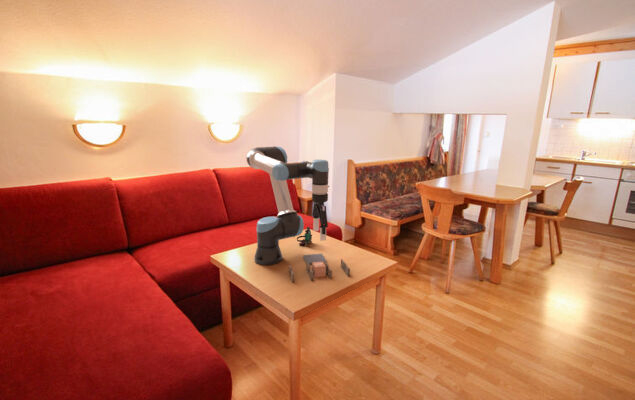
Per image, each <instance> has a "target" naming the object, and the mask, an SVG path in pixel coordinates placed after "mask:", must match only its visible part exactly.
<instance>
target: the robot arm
mask: <svg viewBox="0 0 635 400" xmlns="http://www.w3.org/2000/svg"><path fill="white" fill-rule="evenodd" d="M246 163H247V164H248V166H250V168H252V169H255V170H262V171H264V172H266V173H268V174H269V177H270V183H271V186H272V190H273V194H274V195H273V196H274V199H275V203H276V208H277V212H278V213H277V216H274V215H273V216H266V217H262V218H260V219H259V220H258V221H257V223H256V240H257V241H256V243H257V246H256V249H255V254H254V262H255V263H256V264H259V265H263V266H271V265H277V264H279V263H280V262H282V261H283V254H282V251H281V247H280V243H279V241H280V240H285V239H289V238H295V237H299V236H301V234H302V233H303V231H304V226H305V224H304V223H305V221H304V219H303V217H302V216H301V215H299V214H298V212H297V210H294V207H293V201H292V198H291V193H290V190H289V187H288V182H287V180H297V179H311V180H312V182H311V192H312V194H311V201H312V202H313V206H312V214H311V215H312V217H313V224H312V225H313V227H312V229H313V230H312V231H313V232H319V240H320V241H326V240H327V228H328V227H329V225H328V215H327V205H325V203H326V202H328V200H329V194H328V192H329V187H330V186H329V174H330V173H329V170H330V168H329V161H328V160H326V159H313V161H312V162H311V161H308V160H307V161H306V160H305V161H304V160H303V161H300V162H291V163H290V162H289V163H288V155H287V152H286V150H285V149H284V148H283V147H281V146H276V145H275V146H274V145H273V146H260V147H259V146H258V147H254V148H252V149H250V150H249V152H248V153H247V155H246Z"/></svg>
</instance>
